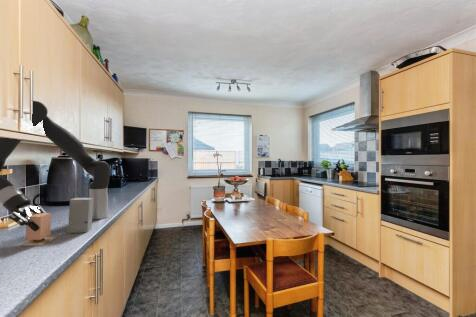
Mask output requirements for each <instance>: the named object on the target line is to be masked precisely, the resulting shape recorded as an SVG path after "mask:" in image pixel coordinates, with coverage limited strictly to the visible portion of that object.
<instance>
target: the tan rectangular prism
mask: <svg viewBox="0 0 476 317" xmlns="http://www.w3.org/2000/svg"><path fill="white" fill-rule="evenodd" d="M51 216H52V215H51V212H50V213H49V212H46V213H40V214H37V213H36V214H34V215H31V216H30V218H31V219H32V220H33V221H34V222H35V223H36V224H37V225H38V226H39V227H40V228H39V229H38V230H37V231H34V230H32V229H31V228H30V227H29V226H26V225H25V240H26V241H29V240H41V239H43V238H45V237H49V236H51V234H52V233H51V232H52V230H51V227H52V226H51V223H52V222H51V218H52V217H51ZM27 220H28V219H27ZM33 221H32V222H33Z"/></svg>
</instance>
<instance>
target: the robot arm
mask: <svg viewBox="0 0 476 317" xmlns="http://www.w3.org/2000/svg"><path fill="white" fill-rule="evenodd" d="M32 101H33V114H32V123H33V126H36V125H37V124H38V123H39V122H41V121H42V120H43V128H44V131H45V134H46V135H45V134H44V135H45V137H46V138H48V139H49V140H50V141H51V143H53V144H54V145H55V146H56V147H58V148H59V149H60V150H61V151H62V152H64V153H65V154H66V155H68V157H70V158H71V159H72V160H74V161H75V162H76V163H77V164H78V165H79V166H80V167H81V168H82V169H83V171H85V172H86V173H87V174H88V175H89V176H92V177H93V180H92V182H90V183H89V186H88V187H89V189H88V191H89V193H88V196H89V197H88V198H93V210H92V220H101V219H105V218H108V214H109V212H108V208H109V207H108V206H109V204H108V202H109V201H108V200H109V196H108V186H109V183H110V172H111V168H110V165H109V163H108V162H106V161H104V160H96V159H94V158H93V157H92V156H91V155H89V153H88V152H87V151H86V149H85V146H84V144H83V142H81V140H80V139H78V138H77V137H76V136H75V135H74V134H73V133H72V132H70V131H69V130H67V129H66V128H65V127H62V126H61V125H59V124H58V123H56V122H55V121H53V119H51V118H50V117H49V116H48V112H49V111H48V108H47V106H46V105H45V104H44V103H43V102H41V101H37V100H32ZM21 142H22V140H17V139H9V138H0V173H1V172H2V170H3V167H4V165H5V164H6V161H7V159H8V158H9V157H10V156H11V154H12V153H13V151H15V149H16V148H17V146H19V144H20V143H21ZM0 205H1V206H2V207H4V208H5V209H6V210H7V211H8V212H9V213H10V215H9V216H8V218H9V219H11V220H12V221H13V222H15V223H16V224H18V225H19V226H21V227H23V226H25V227H26V226H29V227H30V228H31V229H32V230H34V231H37V230H38V229H39V228H40V227H39V226H38V225H37V224H36V223H35V222H34V221H33V220H32V219H31V218H30V216H31V215H34V214H36V213H37V214H40V213H47V211H45V209H44V208H43V207H42V206H41V204H39V205H37V206H35V205H32V204H31V199H30V198H29V197H28V196H27V195H26V194H25V193H23V192H22V190H20V189H19V188H18V187H16V186H15V185H14V184H13V183H12V182H11V181H9V179H7V178H5V177H4V176H1V175H0ZM27 219H28V220H27ZM20 220H21V221H20ZM32 221H33V222H32Z"/></svg>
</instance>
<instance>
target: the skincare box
mask: <svg viewBox="0 0 476 317" xmlns="http://www.w3.org/2000/svg"><path fill="white" fill-rule="evenodd" d="M92 210H93V198H89V197H74V198H71V199H70V200H69V211H68V224H67V233H68V234H80V233H88V232H89V231H90V230H92V227H93V226H92V225H93V219H92Z"/></svg>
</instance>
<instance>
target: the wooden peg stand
mask: <svg viewBox="0 0 476 317" xmlns="http://www.w3.org/2000/svg"><path fill="white" fill-rule="evenodd" d="M55 239H56V237H55V236H50V237H49V236H47V237H45V238H43V239H41V240H26V241H25V242H22V243H21V244H20V247H21V246H24V247H25V246H43V245H45V244H48V243H49V242H51V241H54V240H55Z"/></svg>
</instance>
